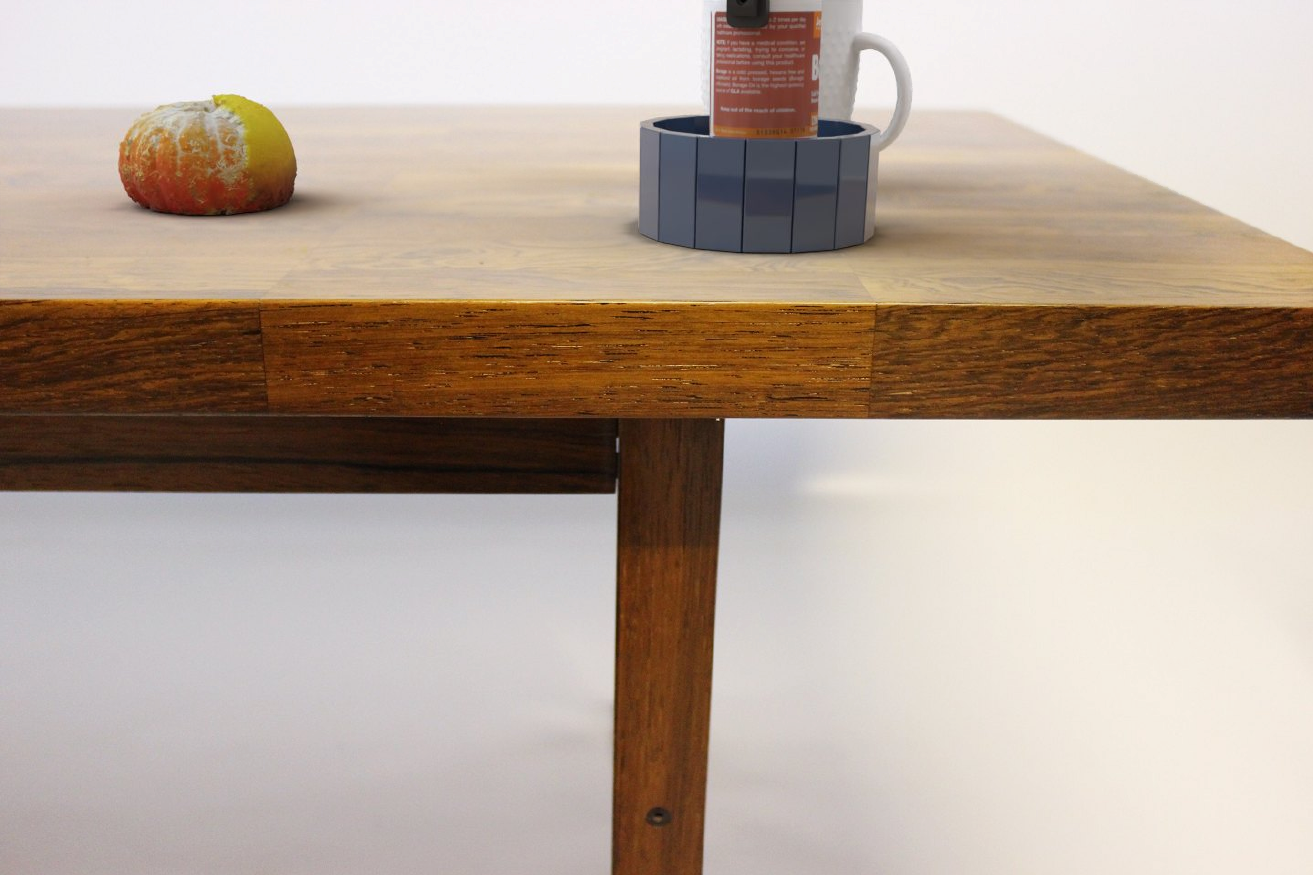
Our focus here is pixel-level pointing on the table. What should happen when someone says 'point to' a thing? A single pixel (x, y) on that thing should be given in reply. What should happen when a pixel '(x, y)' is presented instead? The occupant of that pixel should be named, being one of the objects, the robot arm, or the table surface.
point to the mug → (836, 64)
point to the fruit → (208, 158)
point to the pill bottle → (766, 73)
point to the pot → (757, 187)
